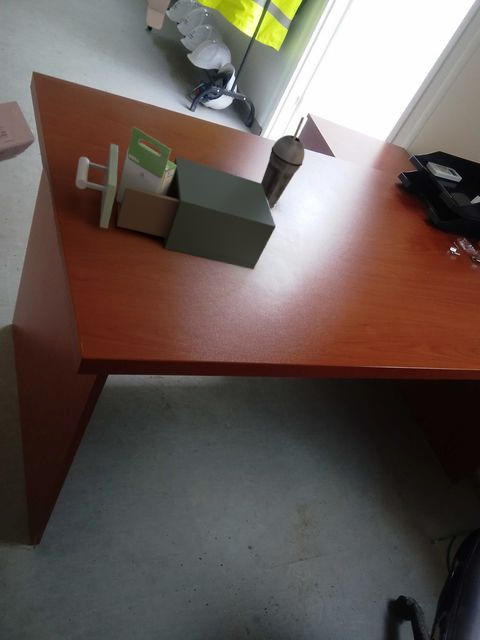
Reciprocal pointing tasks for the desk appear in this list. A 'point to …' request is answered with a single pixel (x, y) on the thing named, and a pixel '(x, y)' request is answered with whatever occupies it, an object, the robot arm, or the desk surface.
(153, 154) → the ink box
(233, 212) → the cabinet
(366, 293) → the desk surface
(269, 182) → the beverage cup
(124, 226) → the drawer
